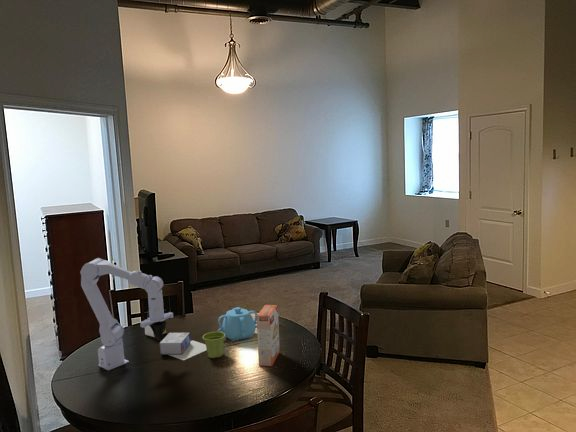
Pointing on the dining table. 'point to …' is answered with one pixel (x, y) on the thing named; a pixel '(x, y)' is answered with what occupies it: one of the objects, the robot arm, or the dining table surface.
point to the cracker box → (268, 335)
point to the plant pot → (214, 343)
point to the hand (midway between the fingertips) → (158, 339)
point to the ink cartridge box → (175, 343)
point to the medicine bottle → (149, 331)
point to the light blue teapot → (238, 324)
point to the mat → (191, 350)
